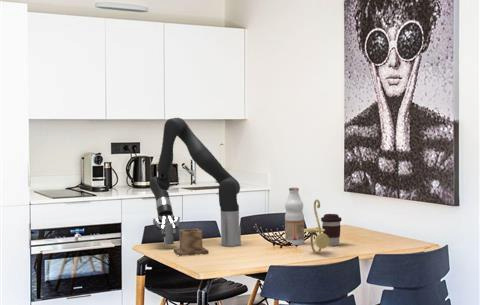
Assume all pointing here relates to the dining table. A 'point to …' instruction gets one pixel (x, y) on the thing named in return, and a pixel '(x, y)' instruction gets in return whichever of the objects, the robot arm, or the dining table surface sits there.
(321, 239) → the wall sconce
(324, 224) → the coffee cup
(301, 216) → the fruit juice
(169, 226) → the grey upright cylinder
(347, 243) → the dining table surface
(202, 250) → the wooden flanged block
